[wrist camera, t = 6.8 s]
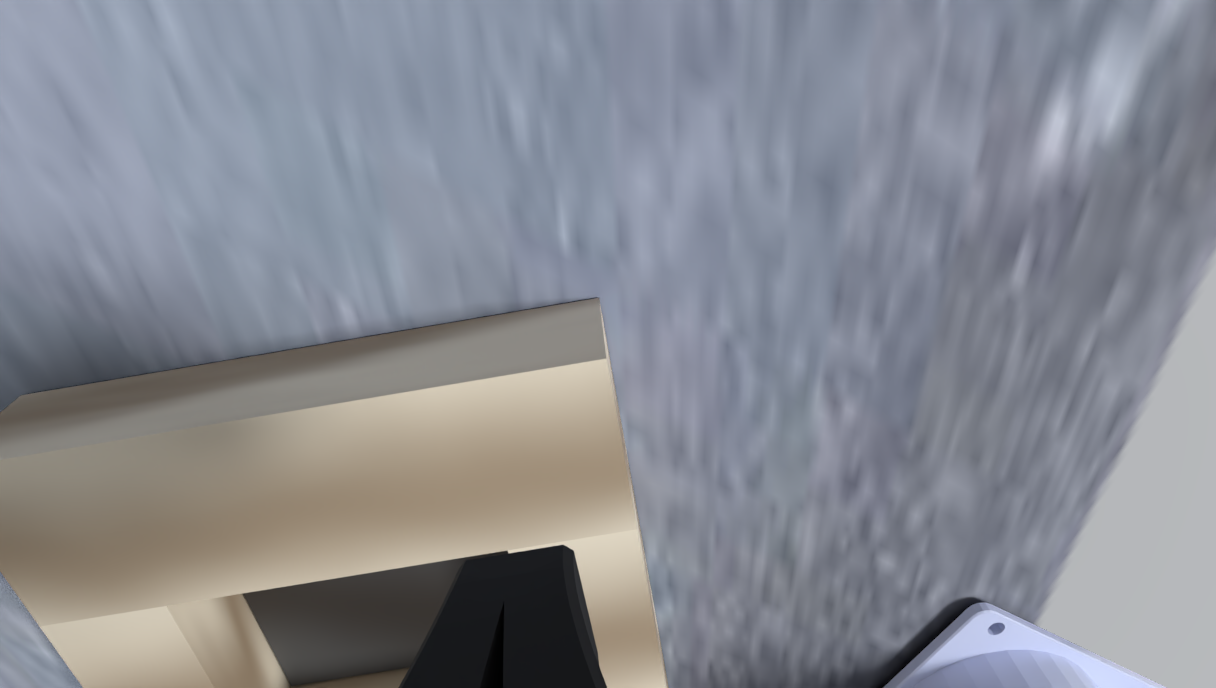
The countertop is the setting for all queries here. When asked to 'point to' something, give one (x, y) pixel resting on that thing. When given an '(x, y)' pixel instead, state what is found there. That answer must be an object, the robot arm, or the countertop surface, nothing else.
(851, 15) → the countertop surface
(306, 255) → the countertop surface
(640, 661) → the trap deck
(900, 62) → the countertop surface
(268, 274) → the countertop surface
